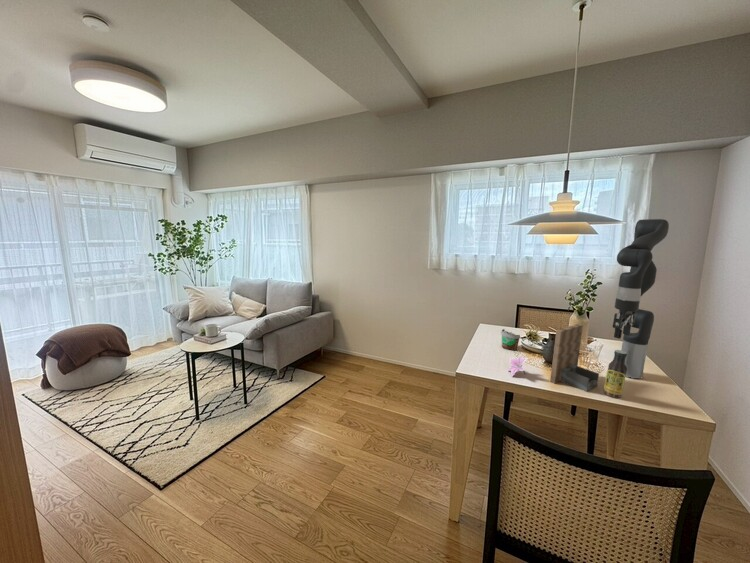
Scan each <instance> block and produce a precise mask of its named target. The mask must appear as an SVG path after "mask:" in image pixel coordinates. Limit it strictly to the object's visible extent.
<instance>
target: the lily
mask: <svg viewBox="0 0 750 563" xmlns="http://www.w3.org/2000/svg"><path fill="white" fill-rule="evenodd" d="M527 360H528V356H526V357H522V353H520V354H519V356H518V357H517V358H515V357H510V358H509V364H510V365H511V366H509V368H508V369H507V372H510V377H511V378H513V376H514V375H515V374H516V372H517V371H521V372H523V373H524V375H526V373H525V370H524V366H523V364H524V363H525V361H527Z"/></svg>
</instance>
